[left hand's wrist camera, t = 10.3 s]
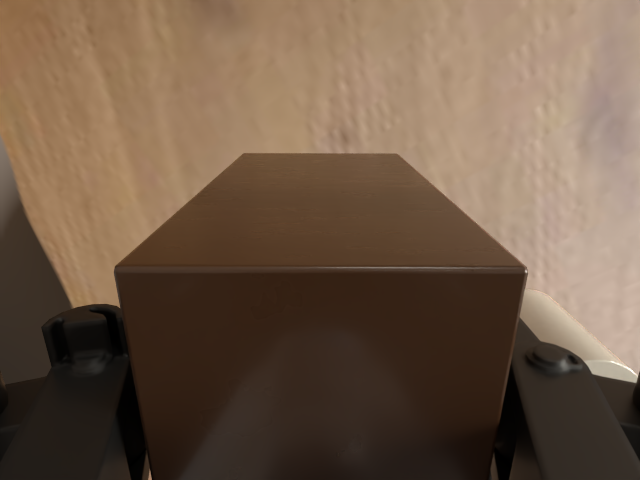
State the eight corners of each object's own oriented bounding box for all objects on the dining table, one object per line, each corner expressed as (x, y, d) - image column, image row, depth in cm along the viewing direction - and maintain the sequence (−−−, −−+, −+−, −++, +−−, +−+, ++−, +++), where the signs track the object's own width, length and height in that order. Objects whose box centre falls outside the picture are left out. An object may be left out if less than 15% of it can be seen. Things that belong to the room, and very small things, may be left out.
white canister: (477, 288, 29) (534, 360, 21) (571, 288, 29) (661, 360, 21) (466, 367, 31) (513, 457, 23) (553, 367, 31) (629, 457, 23)
